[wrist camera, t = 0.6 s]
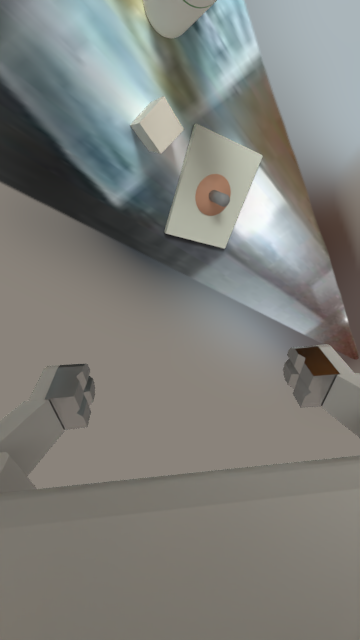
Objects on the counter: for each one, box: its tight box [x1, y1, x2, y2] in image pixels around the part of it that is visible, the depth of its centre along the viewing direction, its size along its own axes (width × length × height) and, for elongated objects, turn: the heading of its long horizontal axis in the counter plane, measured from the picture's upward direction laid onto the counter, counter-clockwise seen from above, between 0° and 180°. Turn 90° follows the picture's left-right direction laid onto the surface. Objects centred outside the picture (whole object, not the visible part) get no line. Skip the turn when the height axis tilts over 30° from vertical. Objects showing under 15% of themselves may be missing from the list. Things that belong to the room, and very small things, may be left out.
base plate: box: [164, 124, 263, 249], centre depth 47 cm, size 18×14×6 cm
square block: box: [130, 96, 184, 154], centre depth 37 cm, size 4×4×8 cm
